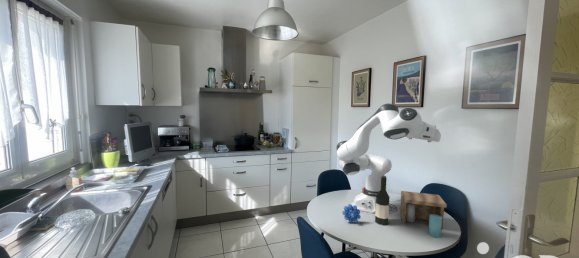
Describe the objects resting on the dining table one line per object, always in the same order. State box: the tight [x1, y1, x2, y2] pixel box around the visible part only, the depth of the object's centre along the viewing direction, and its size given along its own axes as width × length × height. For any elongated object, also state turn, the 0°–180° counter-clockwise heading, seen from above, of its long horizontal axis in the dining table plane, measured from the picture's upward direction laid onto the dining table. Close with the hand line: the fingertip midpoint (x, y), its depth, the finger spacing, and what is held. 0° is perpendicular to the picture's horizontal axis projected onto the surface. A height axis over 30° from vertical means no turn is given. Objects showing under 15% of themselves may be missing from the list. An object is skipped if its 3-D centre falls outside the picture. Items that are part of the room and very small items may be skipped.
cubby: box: [399, 190, 448, 230], centre depth 147 cm, size 22×16×17 cm
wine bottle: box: [374, 175, 390, 226], centre depth 147 cm, size 8×8×30 cm
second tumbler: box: [405, 203, 416, 223], centre depth 152 cm, size 6×6×11 cm
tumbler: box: [427, 214, 442, 239], centre depth 134 cm, size 6×6×11 cm
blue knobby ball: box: [342, 203, 361, 224], centre depth 146 cm, size 12×7×12 cm, turn 93°
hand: (420, 139), depth 126 cm, fingers open, 8 cm apart
